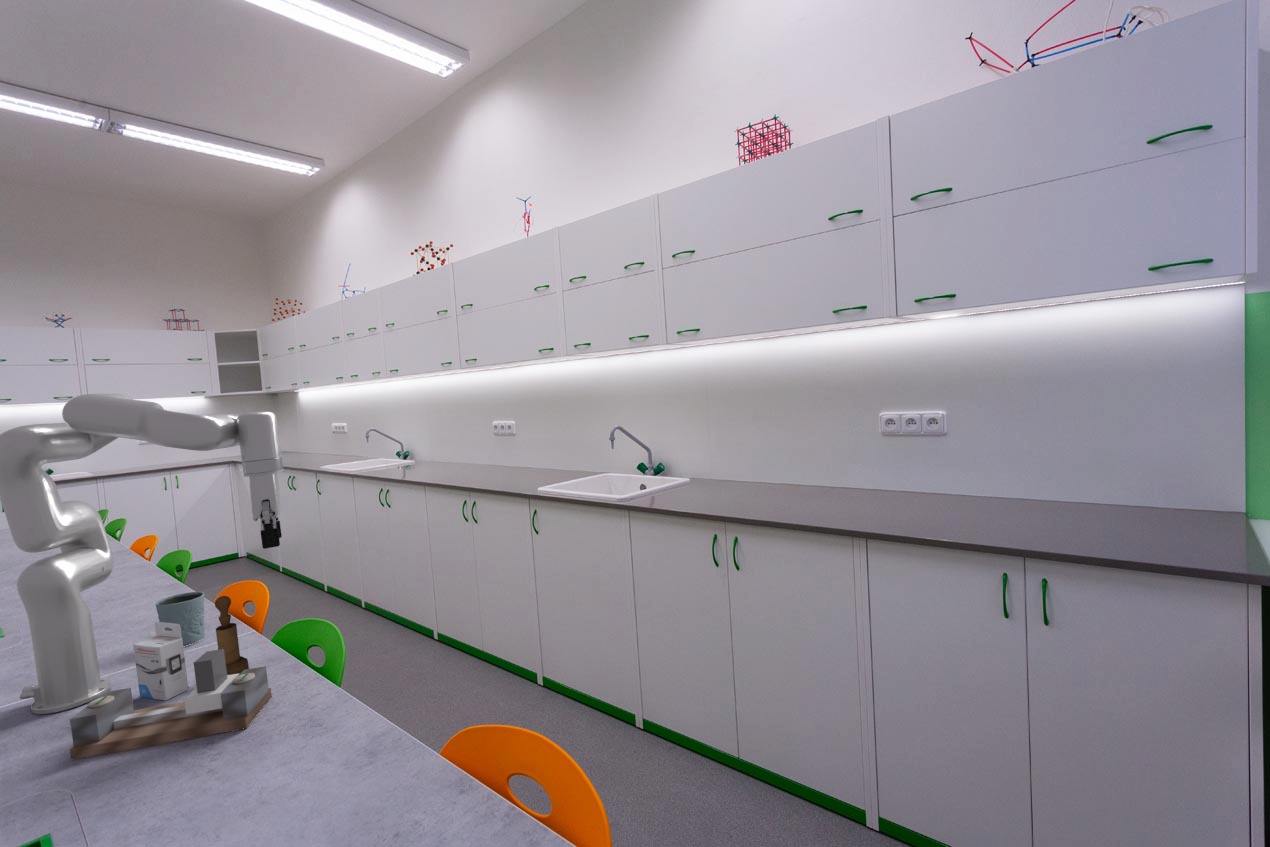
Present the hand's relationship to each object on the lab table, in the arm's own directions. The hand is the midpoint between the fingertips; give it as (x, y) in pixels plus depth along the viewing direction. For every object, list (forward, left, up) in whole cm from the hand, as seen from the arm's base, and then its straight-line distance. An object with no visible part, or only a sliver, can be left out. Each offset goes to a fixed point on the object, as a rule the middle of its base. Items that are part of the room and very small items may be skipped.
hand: (272, 543), depth 132 cm
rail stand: (-13, -18, -30) cm, 37 cm away
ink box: (-24, -1, -30) cm, 38 cm away
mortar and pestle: (-13, +4, -30) cm, 33 cm away
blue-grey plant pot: (-35, +31, -30) cm, 55 cm away
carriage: (-6, -18, -26) cm, 32 cm away
